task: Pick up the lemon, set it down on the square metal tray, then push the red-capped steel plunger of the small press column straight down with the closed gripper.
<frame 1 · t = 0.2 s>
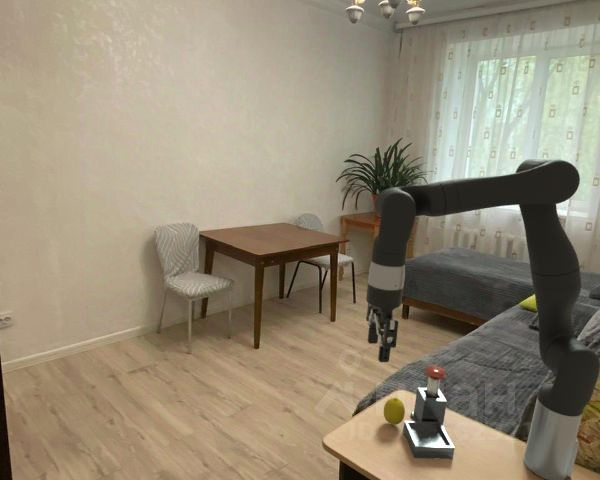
hand: (377, 351, 94), 28 cm above the table, tool pointing down, fingers open, 8 cm apart
lemon: (392, 425, 114), on the table
plunger: (433, 387, 113), point 11 cm above the table, slide at 0.0 cm
square metal tray: (426, 444, 107), on the table
press column: (427, 423, 116), on the table
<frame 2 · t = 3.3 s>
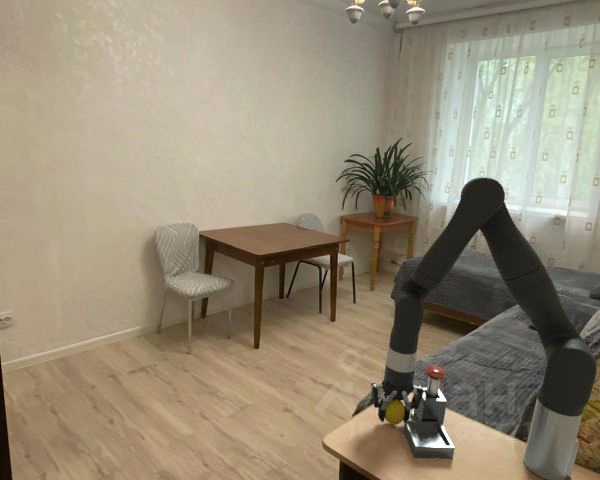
hand: (392, 420, 114), 1 cm above the table, tool pointing down, fingers closed on lemon, 5 cm apart
lemon: (392, 425, 114), on the table, touching gripper
everything else where it was.
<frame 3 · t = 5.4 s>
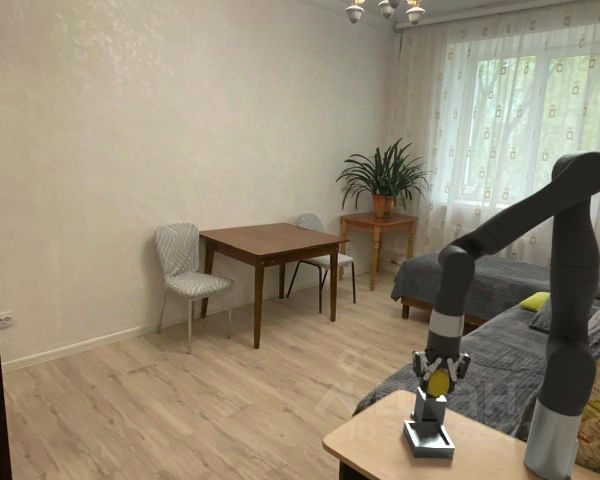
hand: (435, 391, 104), 15 cm above the table, tool pointing down, fingers closed on lemon, 5 cm apart
lemon: (435, 397, 104), point 14 cm above the table, touching gripper
everything else where it was.
when the fingers open (5 cm above the table, at t = 7.7 s): lemon drops 1 cm, resting on square metal tray.
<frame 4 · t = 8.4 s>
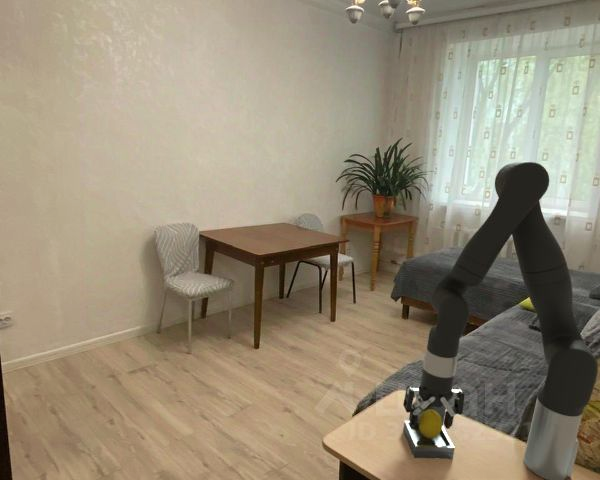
hand: (429, 426, 106), 5 cm above the table, tool pointing down, fingers open, 8 cm apart
lemon: (427, 438, 107), point 2 cm above the table, touching square metal tray
everything else where it was.
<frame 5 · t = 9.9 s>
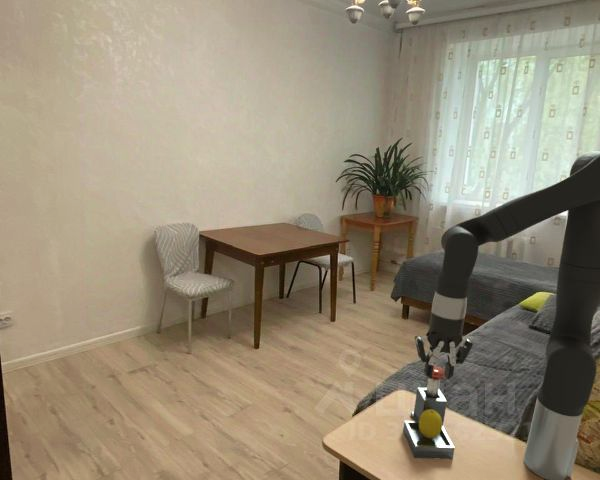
hand: (437, 376, 103), 19 cm above the table, tool pointing down, fingers open, 4 cm apart
nothing on the table moved.
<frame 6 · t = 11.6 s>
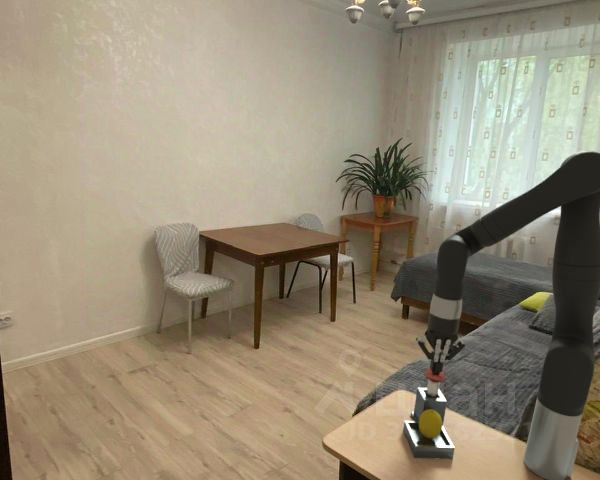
hand: (435, 372, 112), 15 cm above the table, tool pointing down, fingers closed
plunger: (432, 389, 113), point 10 cm above the table, slide at 0.8 cm, touching gripper
everything else where it was.
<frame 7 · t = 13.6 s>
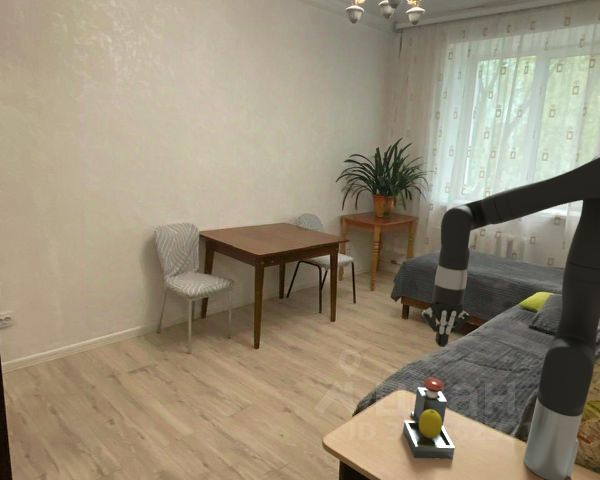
hand: (440, 345, 112), 23 cm above the table, tool pointing down, fingers closed
plunger: (431, 399, 114), point 7 cm above the table, slide at 3.7 cm
everything else where it was.
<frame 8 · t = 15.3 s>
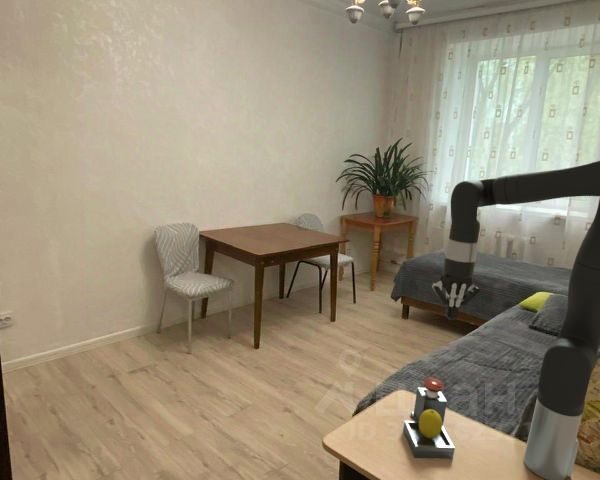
hand: (450, 318, 114), 29 cm above the table, tool pointing down, fingers closed
nothing on the table moved.
at the end: lemon inside the target area on the square metal tray (0.0 cm from its centre), point 1.8 cm above the square metal tray's base; plunger slide at 3.7 cm; the gripper is holding nothing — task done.
